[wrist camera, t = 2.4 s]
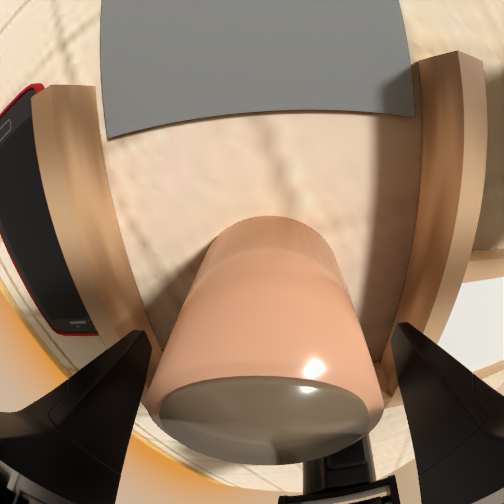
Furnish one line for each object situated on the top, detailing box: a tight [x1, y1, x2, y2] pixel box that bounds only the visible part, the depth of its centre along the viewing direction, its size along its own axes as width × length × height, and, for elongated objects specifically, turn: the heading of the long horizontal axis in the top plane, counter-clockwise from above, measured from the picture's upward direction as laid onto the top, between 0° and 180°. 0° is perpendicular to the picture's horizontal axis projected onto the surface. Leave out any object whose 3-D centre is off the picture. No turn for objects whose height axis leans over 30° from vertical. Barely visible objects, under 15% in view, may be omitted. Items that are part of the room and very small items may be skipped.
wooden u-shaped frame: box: [31, 51, 488, 409], centre depth 10 cm, size 17×15×3 cm
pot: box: [146, 216, 384, 465], centre depth 9 cm, size 6×6×7 cm
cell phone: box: [0, 83, 99, 336], centre depth 11 cm, size 8×15×1 cm, turn 14°
